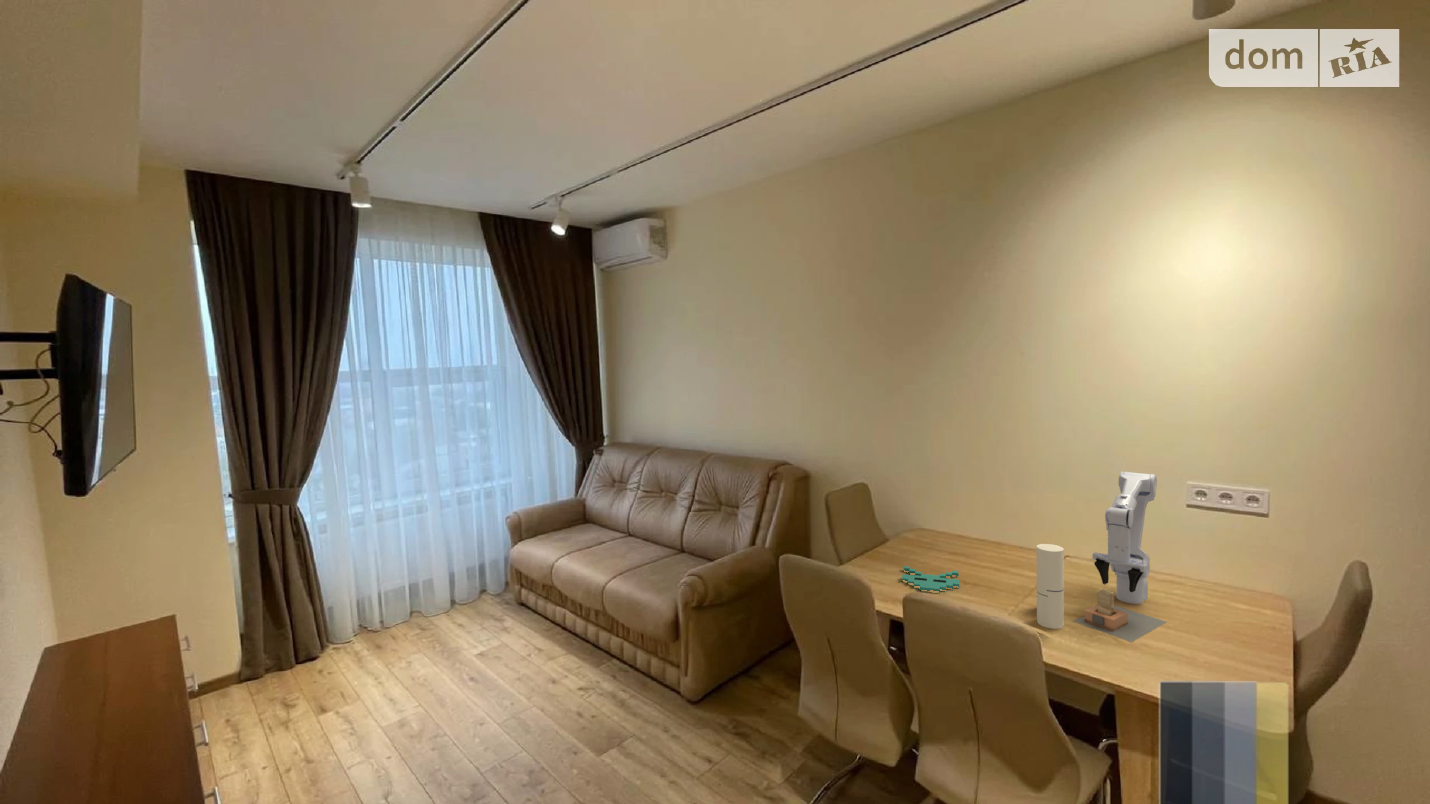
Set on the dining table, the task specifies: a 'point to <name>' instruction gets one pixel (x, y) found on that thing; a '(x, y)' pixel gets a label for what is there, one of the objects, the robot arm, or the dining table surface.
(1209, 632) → the dining table surface
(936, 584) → the alien figure
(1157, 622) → the slate board
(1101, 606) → the tan rectangular block
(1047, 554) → the cylindrical container
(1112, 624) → the terracotta square frame
